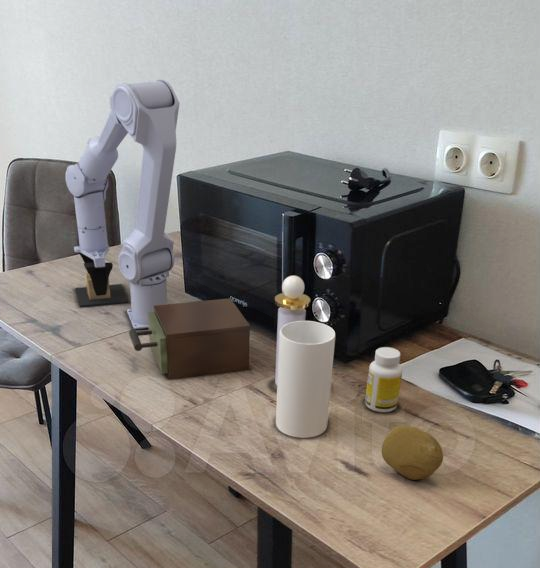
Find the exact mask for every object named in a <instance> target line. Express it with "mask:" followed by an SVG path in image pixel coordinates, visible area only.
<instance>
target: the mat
mask: <svg viewBox="0 0 540 568" xmlns="http://www.w3.org/2000/svg"><path fill="white" fill-rule="evenodd" d="M109 286H110V296H111V298H104V299H94V300H90V299H89V296H88V294H87V288H86V286H84V287H82V286H81V287H75V289H74V290H75V293H76V296H77V300H78V304H79V307H80V308H85V307H86V308H87V307H96V306H97V307H98V306H99V307H100V306H108V305H118V304H120V305H121V304H128V303H129V300H128V298H127V295H126V293H125V291H124V288H123V286H122V284H121V283H119V284H118V283H117V284H109Z"/></svg>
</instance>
